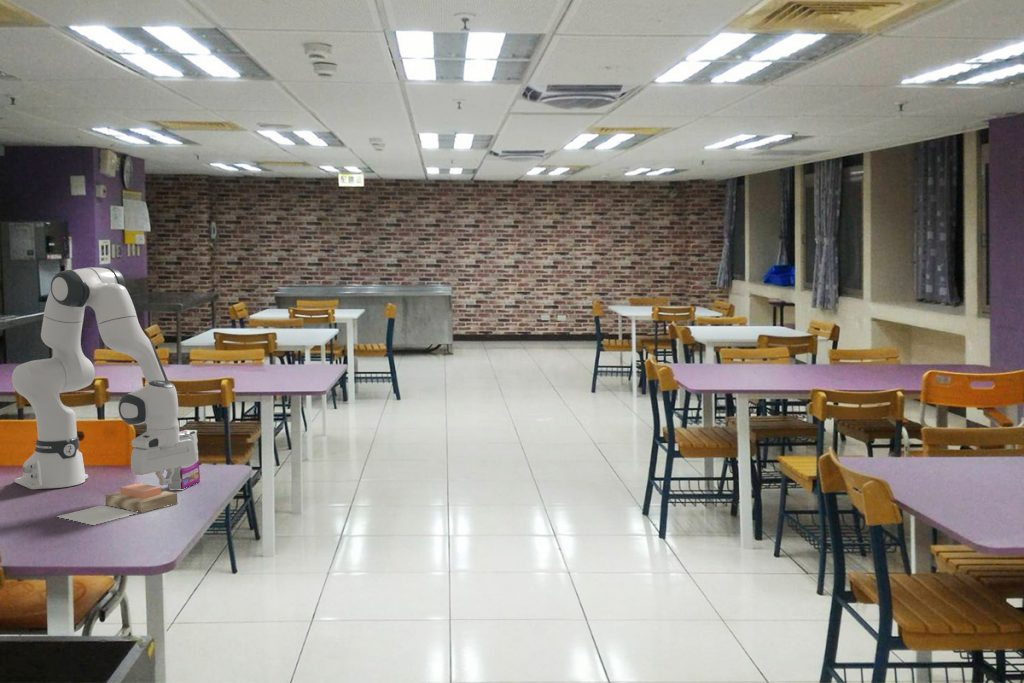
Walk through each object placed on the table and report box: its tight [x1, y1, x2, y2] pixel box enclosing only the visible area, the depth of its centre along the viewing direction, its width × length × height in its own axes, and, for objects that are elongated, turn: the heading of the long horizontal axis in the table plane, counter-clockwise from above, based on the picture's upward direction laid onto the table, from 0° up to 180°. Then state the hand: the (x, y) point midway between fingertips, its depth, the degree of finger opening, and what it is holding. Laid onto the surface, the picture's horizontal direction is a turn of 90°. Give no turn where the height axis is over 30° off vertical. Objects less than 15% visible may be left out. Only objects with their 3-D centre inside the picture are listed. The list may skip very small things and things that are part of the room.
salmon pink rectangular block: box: [120, 482, 162, 499], centre depth 295 cm, size 10×6×2 cm, turn 56°
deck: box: [104, 489, 178, 513], centre depth 295 cm, size 16×12×3 cm
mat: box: [56, 505, 138, 526], centre depth 283 cm, size 16×14×1 cm
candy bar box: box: [166, 429, 201, 490], centre depth 316 cm, size 11×5×16 cm, turn 168°
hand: (165, 484), depth 301 cm, fingers closed
